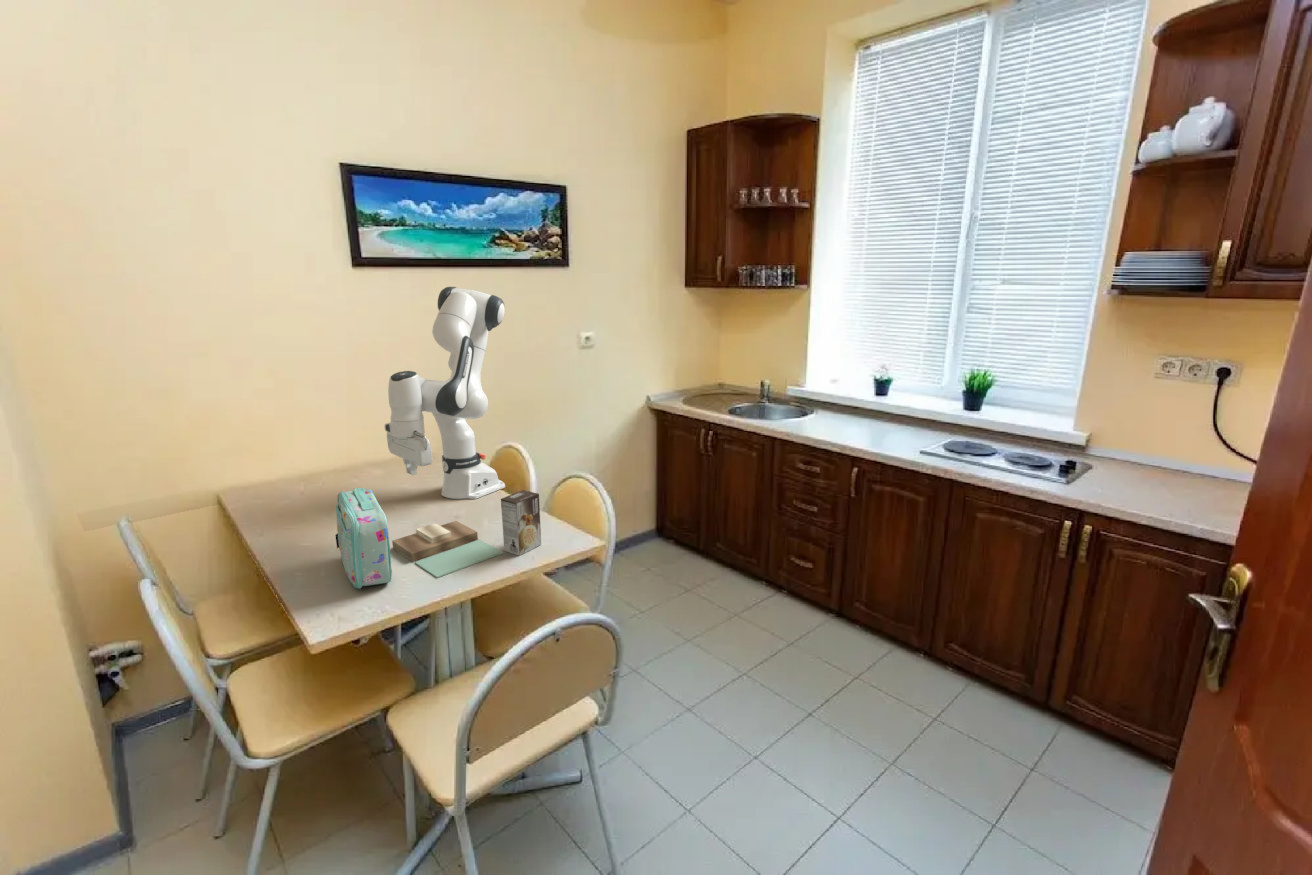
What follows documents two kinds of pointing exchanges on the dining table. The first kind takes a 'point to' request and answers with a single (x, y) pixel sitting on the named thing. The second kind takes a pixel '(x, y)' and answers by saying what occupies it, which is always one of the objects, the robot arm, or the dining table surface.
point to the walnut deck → (422, 548)
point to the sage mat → (458, 558)
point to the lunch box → (363, 538)
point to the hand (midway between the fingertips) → (411, 473)
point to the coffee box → (521, 522)
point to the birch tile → (433, 533)
